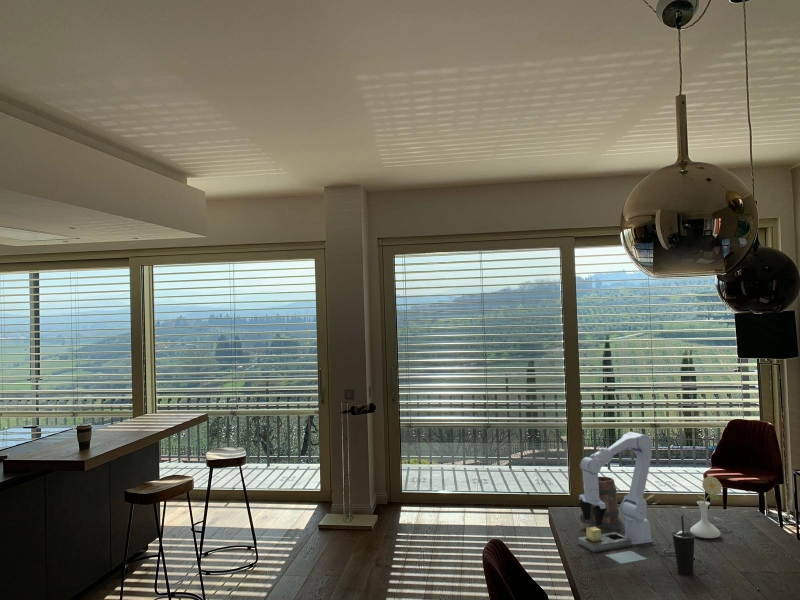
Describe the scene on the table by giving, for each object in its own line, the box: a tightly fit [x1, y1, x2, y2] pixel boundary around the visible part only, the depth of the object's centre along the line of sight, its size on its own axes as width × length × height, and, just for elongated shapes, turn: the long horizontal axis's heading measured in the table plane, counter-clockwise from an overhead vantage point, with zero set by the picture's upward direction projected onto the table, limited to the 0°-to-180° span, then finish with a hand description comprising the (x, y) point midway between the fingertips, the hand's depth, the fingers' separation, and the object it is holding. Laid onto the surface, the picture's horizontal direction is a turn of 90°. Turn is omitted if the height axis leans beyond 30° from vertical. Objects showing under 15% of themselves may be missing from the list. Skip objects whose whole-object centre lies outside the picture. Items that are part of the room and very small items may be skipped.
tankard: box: [579, 476, 625, 530], centre depth 262 cm, size 24×17×20 cm
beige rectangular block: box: [585, 526, 602, 543], centre depth 234 cm, size 4×4×7 cm
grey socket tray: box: [577, 531, 632, 553], centre depth 235 cm, size 18×10×3 cm, turn 108°
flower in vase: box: [689, 475, 723, 539], centre depth 244 cm, size 13×11×25 cm
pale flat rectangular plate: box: [605, 550, 648, 565], centre depth 222 cm, size 12×9×1 cm
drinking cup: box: [671, 515, 696, 577], centre depth 207 cm, size 8×8×20 cm
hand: (592, 522), depth 234 cm, fingers open, 7 cm apart
